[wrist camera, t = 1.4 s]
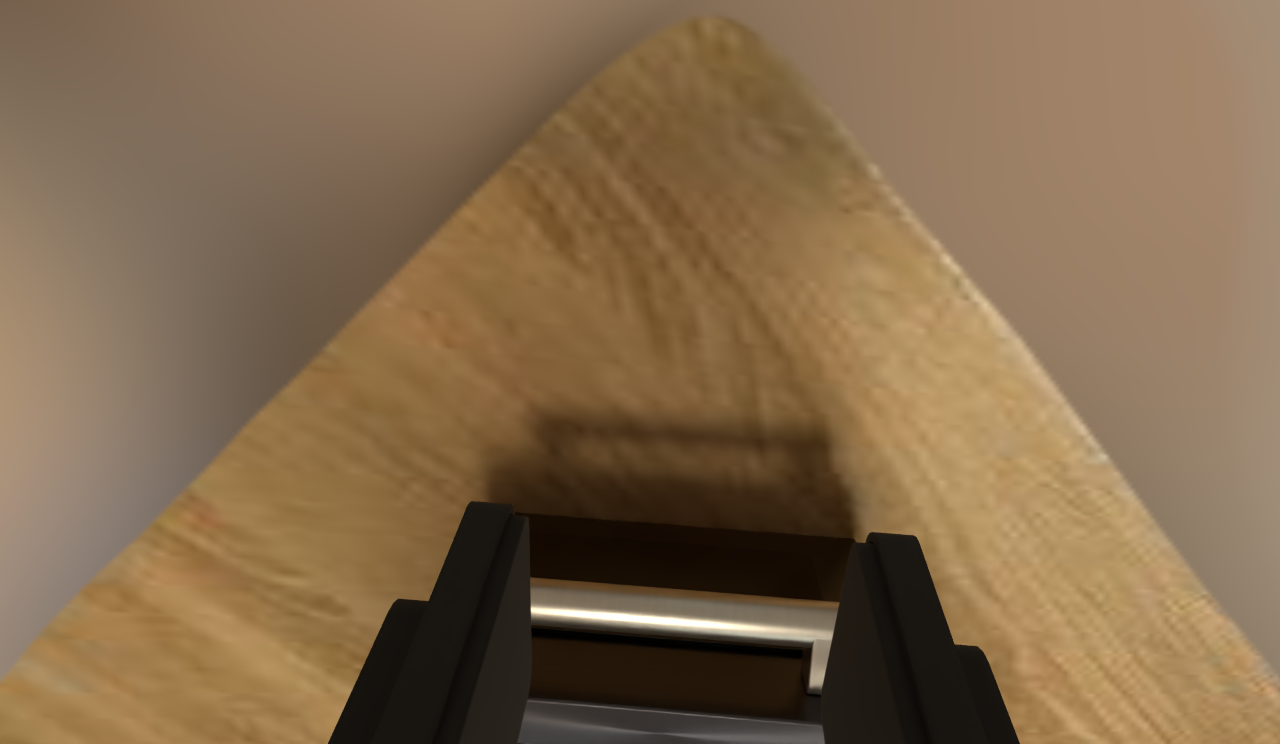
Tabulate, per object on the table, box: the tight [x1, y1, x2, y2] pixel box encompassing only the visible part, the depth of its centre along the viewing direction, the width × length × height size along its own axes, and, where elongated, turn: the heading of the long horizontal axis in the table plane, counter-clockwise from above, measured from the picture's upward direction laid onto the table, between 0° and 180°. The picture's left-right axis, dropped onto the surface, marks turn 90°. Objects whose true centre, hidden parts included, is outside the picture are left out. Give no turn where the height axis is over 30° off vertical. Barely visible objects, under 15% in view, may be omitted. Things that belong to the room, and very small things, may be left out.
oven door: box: [515, 513, 856, 744], centre depth 31 cm, size 4×16×13 cm, turn 88°
